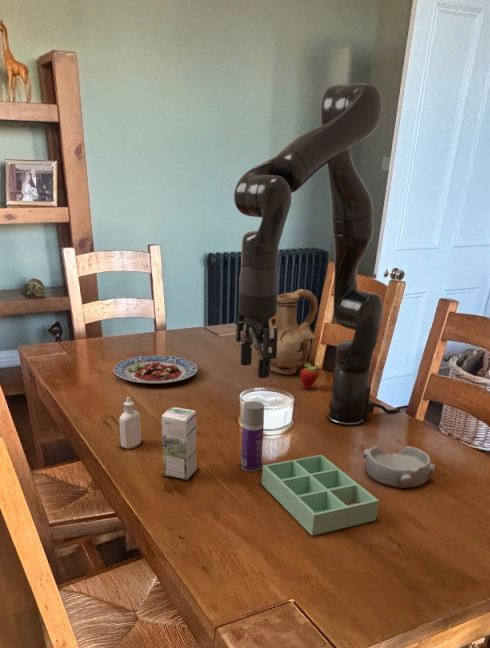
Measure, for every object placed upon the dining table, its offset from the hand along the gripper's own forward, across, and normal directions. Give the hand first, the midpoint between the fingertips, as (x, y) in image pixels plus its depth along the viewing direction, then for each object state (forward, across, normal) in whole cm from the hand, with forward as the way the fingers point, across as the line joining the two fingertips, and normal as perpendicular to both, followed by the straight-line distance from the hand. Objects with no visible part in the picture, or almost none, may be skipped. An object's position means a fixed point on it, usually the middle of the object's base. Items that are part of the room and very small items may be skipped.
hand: (254, 370), depth 128 cm
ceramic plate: (+23, +67, +1) cm, 70 cm away
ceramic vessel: (+22, +58, -38) cm, 73 cm away
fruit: (+23, +40, -38) cm, 60 cm away
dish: (+23, -16, -29) cm, 40 cm away
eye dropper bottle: (+23, +21, +22) cm, 38 cm away
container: (+23, 0, 0) cm, 23 cm away
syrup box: (+23, +3, +16) cm, 28 cm away
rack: (+22, -19, -6) cm, 30 cm away
